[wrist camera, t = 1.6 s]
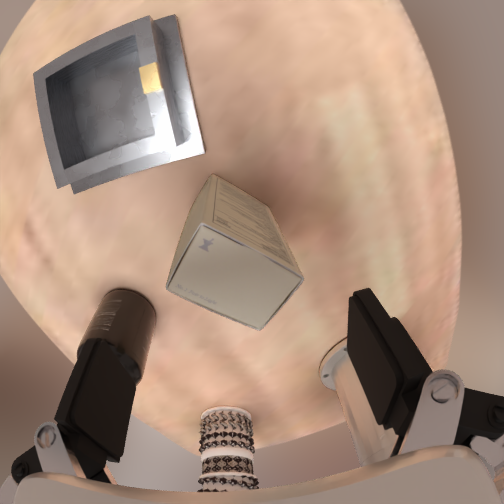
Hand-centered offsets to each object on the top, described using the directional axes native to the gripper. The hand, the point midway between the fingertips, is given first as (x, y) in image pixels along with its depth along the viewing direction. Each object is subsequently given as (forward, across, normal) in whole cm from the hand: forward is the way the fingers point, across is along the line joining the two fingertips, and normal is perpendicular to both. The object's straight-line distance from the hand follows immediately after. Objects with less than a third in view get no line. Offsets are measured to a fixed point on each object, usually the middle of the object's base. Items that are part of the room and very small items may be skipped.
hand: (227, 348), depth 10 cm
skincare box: (+17, 0, +1) cm, 17 cm away
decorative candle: (+17, +9, +35) cm, 39 cm away
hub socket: (+17, +7, -11) cm, 22 cm away
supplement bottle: (+17, +14, +10) cm, 24 cm away
